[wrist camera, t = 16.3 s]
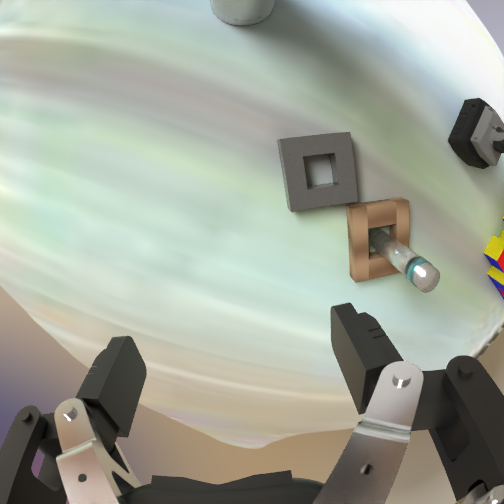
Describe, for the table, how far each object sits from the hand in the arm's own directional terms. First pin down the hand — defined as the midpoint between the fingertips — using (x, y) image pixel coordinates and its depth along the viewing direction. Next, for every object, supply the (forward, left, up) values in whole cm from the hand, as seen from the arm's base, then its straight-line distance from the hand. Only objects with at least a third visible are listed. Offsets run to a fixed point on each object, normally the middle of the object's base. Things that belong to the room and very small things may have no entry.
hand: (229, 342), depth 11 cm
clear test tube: (+10, +21, -32) cm, 39 cm away
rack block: (+10, +21, -32) cm, 40 cm away
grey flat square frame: (-2, +12, -32) cm, 34 cm away
